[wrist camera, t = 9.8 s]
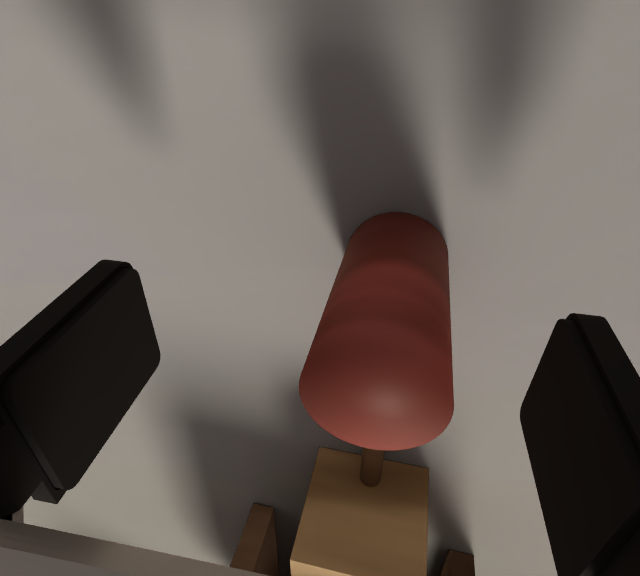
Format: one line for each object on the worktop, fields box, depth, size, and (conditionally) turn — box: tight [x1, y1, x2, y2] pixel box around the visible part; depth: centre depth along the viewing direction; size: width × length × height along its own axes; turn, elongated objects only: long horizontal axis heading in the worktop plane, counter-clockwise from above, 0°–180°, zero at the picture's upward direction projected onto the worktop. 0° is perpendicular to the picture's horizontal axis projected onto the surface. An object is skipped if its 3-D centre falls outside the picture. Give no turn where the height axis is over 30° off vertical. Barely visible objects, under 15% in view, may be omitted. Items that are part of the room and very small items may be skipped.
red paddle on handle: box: [290, 212, 454, 576], centre depth 15 cm, size 17×5×6 cm, turn 0°
